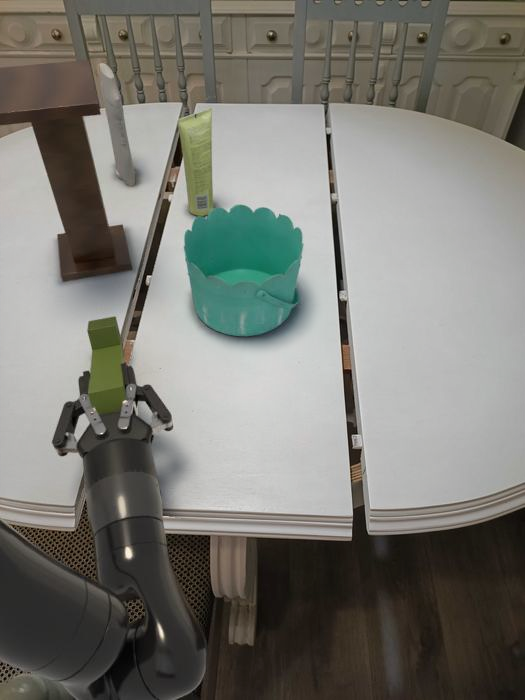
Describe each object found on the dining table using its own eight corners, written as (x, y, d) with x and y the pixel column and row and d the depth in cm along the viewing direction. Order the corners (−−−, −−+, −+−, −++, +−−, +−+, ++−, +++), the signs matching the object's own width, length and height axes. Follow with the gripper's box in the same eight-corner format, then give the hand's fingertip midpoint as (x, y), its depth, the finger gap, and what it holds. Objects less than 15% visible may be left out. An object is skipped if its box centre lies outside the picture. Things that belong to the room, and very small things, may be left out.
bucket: (195, 263, 96) (189, 201, 86) (296, 265, 96) (301, 204, 87) (184, 341, 84) (176, 279, 74) (300, 344, 84) (307, 282, 74)
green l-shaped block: (93, 416, 62) (81, 369, 60) (97, 358, 81) (88, 321, 79) (128, 408, 63) (117, 362, 60) (124, 353, 82) (115, 316, 80)
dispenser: (110, 164, 118) (88, 58, 101) (128, 161, 119) (109, 55, 102) (123, 189, 111) (102, 80, 95) (142, 184, 113) (124, 76, 96)
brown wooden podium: (65, 309, 88) (-5, 113, 63) (59, 240, 100) (-2, 53, 75) (138, 295, 90) (98, 102, 66) (124, 230, 102) (85, 46, 78)
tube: (191, 200, 109) (183, 104, 95) (216, 202, 109) (211, 106, 94) (186, 216, 106) (177, 119, 91) (211, 218, 105) (206, 121, 91)
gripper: (186, 458, 55) (158, 339, 66) (43, 494, 52) (38, 364, 63) (192, 491, 61) (165, 376, 71) (63, 525, 58) (55, 400, 68)
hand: (106, 371), depth 67 cm, fingers closed on green l-shaped block, 4 cm apart
